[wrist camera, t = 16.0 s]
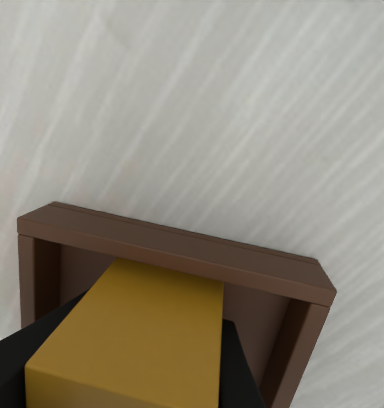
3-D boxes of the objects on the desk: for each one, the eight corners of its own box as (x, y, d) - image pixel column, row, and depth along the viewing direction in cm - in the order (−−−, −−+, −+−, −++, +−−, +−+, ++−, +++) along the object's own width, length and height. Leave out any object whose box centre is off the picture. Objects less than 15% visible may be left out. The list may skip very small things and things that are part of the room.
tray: (240, 469, 13) (241, 523, 11) (52, 414, 14) (25, 456, 12) (317, 259, 9) (338, 291, 8) (53, 201, 10) (15, 217, 8)
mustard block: (113, 332, 11) (27, 485, 6) (121, 251, 10) (22, 364, 5) (204, 356, 11) (183, 535, 6) (224, 275, 10) (218, 419, 5)
